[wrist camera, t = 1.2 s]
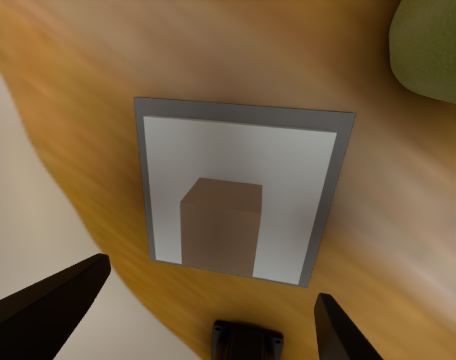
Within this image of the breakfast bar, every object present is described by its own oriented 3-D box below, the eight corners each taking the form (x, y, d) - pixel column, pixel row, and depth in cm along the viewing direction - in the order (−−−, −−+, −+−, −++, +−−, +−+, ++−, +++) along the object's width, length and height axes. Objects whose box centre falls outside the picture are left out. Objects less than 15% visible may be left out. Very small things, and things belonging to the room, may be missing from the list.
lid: (296, 276, 16) (305, 332, 12) (160, 252, 18) (131, 296, 14) (332, 130, 12) (363, 147, 8) (150, 115, 13) (103, 123, 10)
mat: (306, 283, 17) (307, 287, 17) (152, 256, 19) (150, 260, 18) (353, 113, 12) (356, 113, 12) (137, 97, 14) (133, 97, 13)
